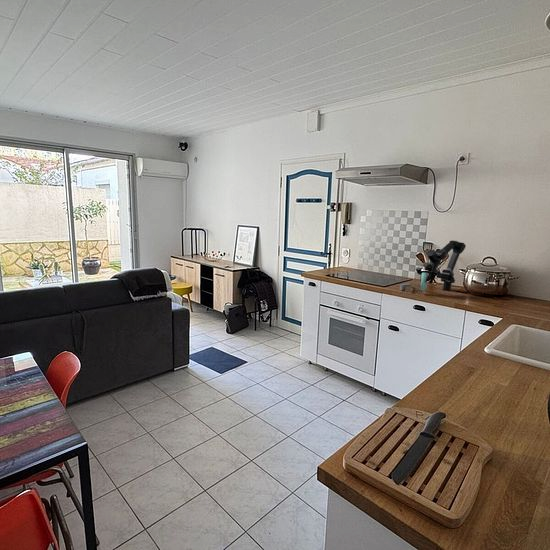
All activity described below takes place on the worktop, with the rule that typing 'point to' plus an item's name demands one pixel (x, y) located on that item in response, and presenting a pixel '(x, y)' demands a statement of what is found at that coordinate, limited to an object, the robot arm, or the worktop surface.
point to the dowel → (423, 281)
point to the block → (412, 289)
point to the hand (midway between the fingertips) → (422, 281)
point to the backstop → (402, 286)
